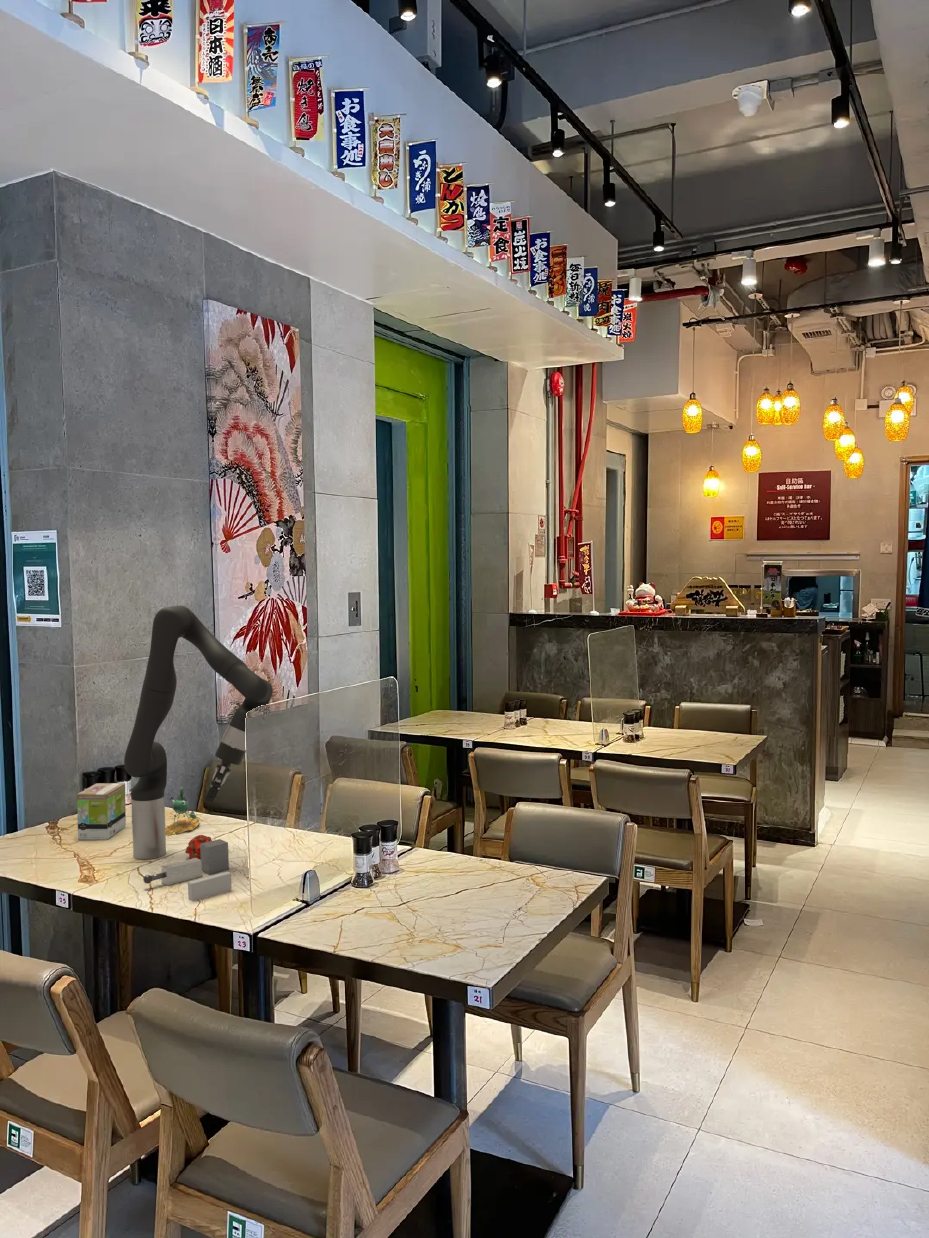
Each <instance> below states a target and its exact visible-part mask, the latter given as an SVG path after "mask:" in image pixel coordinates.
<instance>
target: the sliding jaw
mask: <svg viewBox="0 0 929 1238" xmlns="http://www.w3.org/2000/svg"><path fill="white" fill-rule="evenodd" d="M160 868H161V869H160V871H161V872H160V873H159V872H158V873H156V874H151V875H150V874H146V875H145V876H143V882H144V884H146V885H147V884H150V883H152V882H153V881H156V880H161V883H162V884H163V885H164V886H170V885H174V884H179V883H182V882H183V883H184V882H185V881H186V882H188V881H191V880H193V879H194V880H195V879H197V878H198V879H199V878H201V877H202V878H203V872H202V864H201V860H200V859H198V858H193V859H189V858H188V859H185V860H182V861H177V862H172V863H170V864H169V863H168V864H165V865H162V866H161V867H160Z"/></svg>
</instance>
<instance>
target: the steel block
mask: <svg viewBox="0 0 929 1238" xmlns="http://www.w3.org/2000/svg"><path fill="white" fill-rule="evenodd" d="M200 852H201V864H202V873H204V874H206V875H208V876H212V875H216V874H220V873H223V872H227V871H229V870H230V866H229V865H230V864H229V842H228V841H225V840H223V839H222V838H219V839H215V840H212V841H210V842H206V843H201V844H200Z"/></svg>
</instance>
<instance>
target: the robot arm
mask: <svg viewBox="0 0 929 1238" xmlns="http://www.w3.org/2000/svg"><path fill="white" fill-rule="evenodd" d="M150 637H151V639H150V640H151V641H150V647H149V648H150V649H149V655H148V659H147V664H146V668H145V669H146V670H145V675H144V678H143V683H142V686H141V691H140V697H139V702H138V703H139V704H138V708H137V711H136V716H135V721H134V724H133V728H132V730H131V731H132V732H131V735H130V738H129V741H128V743H127V747H126V750H125V753H124V757H123V759H124V760H123V765H124V768H125V771H126V772H127V773H126V774H128V775H129V776H130V777H132V778H138V781H137V782H136V784H135V785H133V787H132V788H131V790H130V801H131V803H130V804H131V824H132V829H131V830H132V831H131V832H132V853H133V858H135V859H136V860H137V859H138V860H152V859H156V858H159V857H163V856H165V855H166V854H167V839H166V837H167V836H166V831H165V829H166V811H165V810H166V809H165V808H166V807H165V790H166V787H167V783H168V782H167V781H168V760H167V759H168V758H167V753H166V749H165V748H164V747H163V745H162V744H161V743H159V742H157V741H155V738H156V735H157V733H158V731H159V728H160V727H161V725H162V724H163V722H164V721H165V719H166V717H167V715H168V714H169V713H170V710H171V708H172V707H173V703H174V699H175V696H176V695H175V694H176V691H177V684H178V683H177V680H178V679H177V673H176V669H175V664H174V663H175V662H174V659H175V658H174V655H175V652H176V647H177V644H178V640H179V638H180V639H181V638H183V639H184V640H186V641H188V642H189V643H191V644H192V645H193V646H195V648H197V650H199V652H200V653H201V654H202V656H203V657H204V659H205V661H206V663H207V664H208V665H209V666H210V668H211V669H212V670H213V671H214V672H216V673H217V674H218V675H219V676H221V678H223V679H224V680H225V681H226V682H228V683H230V684H231V685H232V686H233V687H234V688H235V689H236V690H237V691H238V692H239V694H241V696H242V697H243V698H244V700H243V702H242V704H241V705H240V706H239V707H238V708H237V709H236V710H235V712H234V714H233V715H232V717H231V720H230V722H229V725H228V726H227V728H226V730H225V731H224V734H223V736H222V738H221V740H220V742H219V745H218V747H217V749H216V751H215V754H214V755H215V757H216V758H218V759H220V760H221V763H220V764H217V765H216V767H215V769H214V774H213V776H212V778H211V779H212V781H211V783H210V787H209V790H208V792H207V794H206V796H205V801H206V802H209V803H214V801H215V799H216V797H217V795H218V793H219V791H220V789H221V787H222V786H223V784H225V782H226V780H227V778H228V777H229V775H230V773H231V770H232V769H231V766H232V765H235V766H239V765H241V764H242V761H243V760H244V757H245V755H246V753H247V750H245V718H246V713H247V712H248V711H250V710H252V709H253V708H256V707H258V706H261V705H266V704H268V705H269V703H270V701H271V699H272V696H273V693H274V692H273V691H274V690H273V686H272V684H271V683H270V682H269V681H268V680H266V679H264V678H262V677H260V676H259V675H258V674H256V673H255V672H254V671H253V670H251V669H250V668H249V667H248V665H247V664H246V663H245V662H244V661H243V660H242V659H240V658H239V657H238V656H237V655H236V654H235V653H233V652H232V651H231V650H229V648H227V647H226V646H225V645H224V644H222V642H220V641H219V640H218V638H216V637H215V635H214V634H213V633H212V632H211V631H210V630H209V628H208V627H206V626H205V625H204V624H203V623H202V621H201V620H200V619H199V617H197V615H196V614H195V613H194V612H193V611H192V610H191V609H190V608H189V607H187V606H184V605H172V606H167V607H162V608H161V609H159V610H158V611H157V613H156V614H155V615H154V617H153V621H152V629H151V636H150ZM231 764H232V765H231Z"/></svg>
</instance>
